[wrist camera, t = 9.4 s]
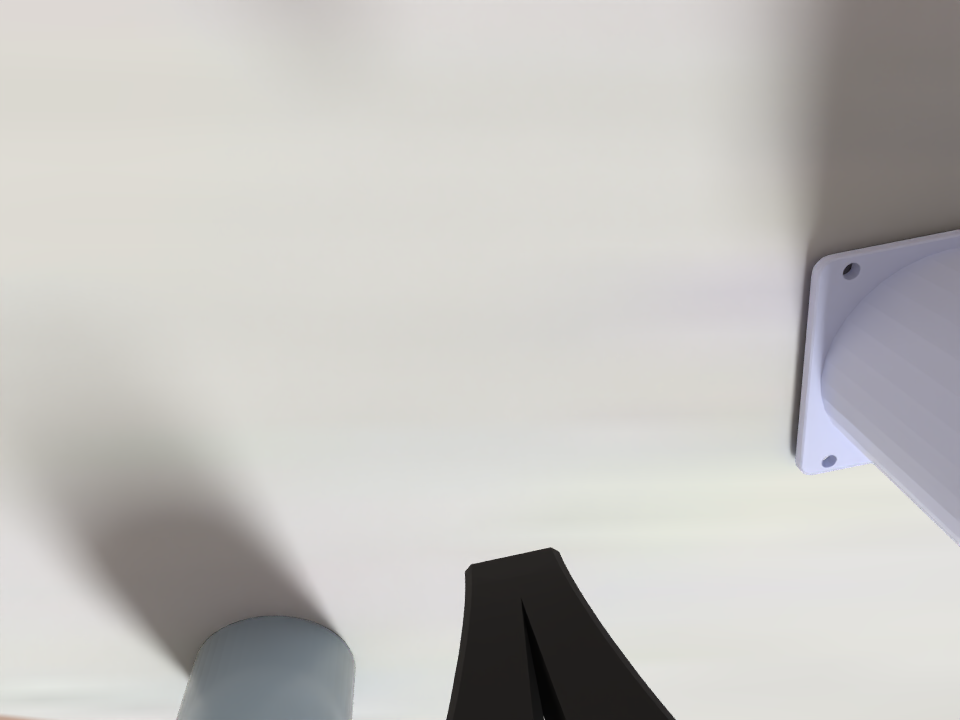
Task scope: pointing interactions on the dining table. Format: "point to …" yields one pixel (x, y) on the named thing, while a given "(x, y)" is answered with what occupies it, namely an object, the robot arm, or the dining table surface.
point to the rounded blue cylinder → (271, 673)
